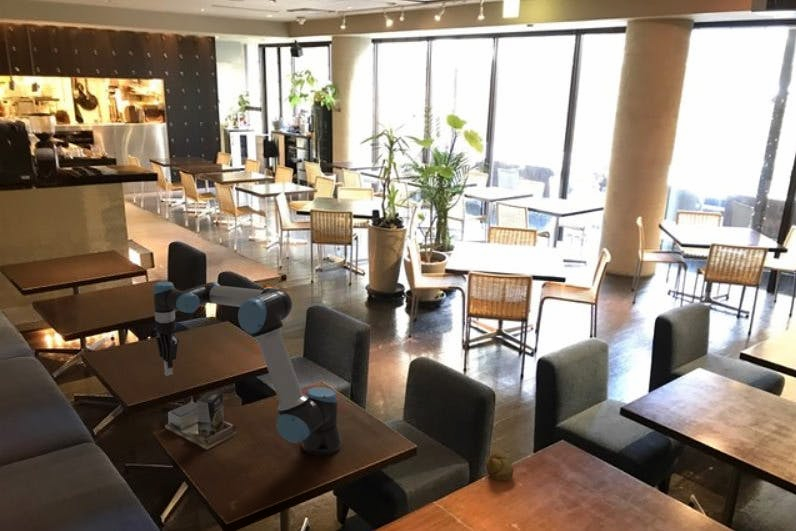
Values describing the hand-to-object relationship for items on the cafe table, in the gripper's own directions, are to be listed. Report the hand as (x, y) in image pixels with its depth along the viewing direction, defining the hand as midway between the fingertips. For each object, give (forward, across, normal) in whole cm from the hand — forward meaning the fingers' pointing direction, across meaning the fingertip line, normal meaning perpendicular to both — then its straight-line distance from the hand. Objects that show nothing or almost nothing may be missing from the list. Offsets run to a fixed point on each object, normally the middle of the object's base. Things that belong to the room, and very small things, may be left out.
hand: (168, 374), depth 249 cm
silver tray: (+19, -19, 0) cm, 27 cm away
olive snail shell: (+18, -127, -48) cm, 137 cm away
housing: (+18, -10, 0) cm, 20 cm away
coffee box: (+18, -26, 0) cm, 31 cm away
